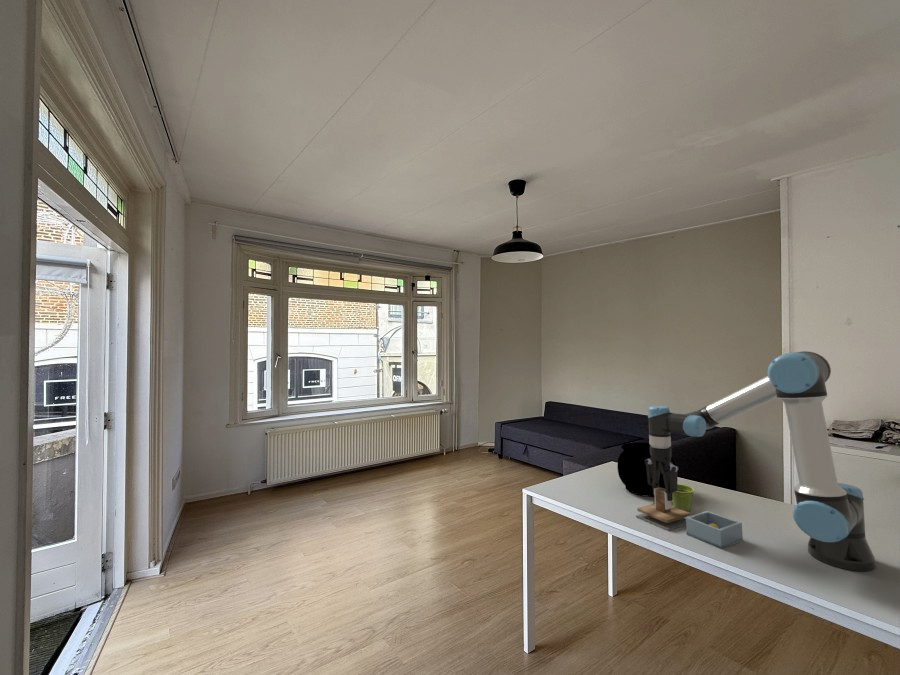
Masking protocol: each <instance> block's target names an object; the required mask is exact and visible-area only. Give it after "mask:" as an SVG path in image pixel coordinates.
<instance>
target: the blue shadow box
mask: <svg viewBox="0 0 900 675" xmlns="http://www.w3.org/2000/svg"><path fill="white" fill-rule="evenodd" d="M685 518H686V525H685V526H686V535H687V536H690V537H691V538H694V539H697V540H698V541H701V542H704V543H706V544H708V545H710V546H713V547H715V548H718V549H721V550H722V549H725V548H727V547H730V546H733V545H734V544H737V543H739V542H740V543H741V542H742V541H743V539H744V537H743V523H742V522H741V521H738V520H734V519H732V518H729V517H726V516H723V515H721V514H718V513H715V512H711V511H709V510H705V511H702V512H700V513H695V514H692V515H690V516H688V517H685ZM711 523H713V524H716V525H717V526H718V527H719V529H718V528H715V527H713V526H710V525H709V524H711Z"/></svg>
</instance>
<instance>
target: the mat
mask: <svg viewBox="0 0 900 675" xmlns="http://www.w3.org/2000/svg"><path fill="white" fill-rule="evenodd" d="M635 518H636V519H639V520H642V521H644V522H646V523H649V524H651V525H653V526H656V527H659V528H660V529H663V530H664V531H667V532H669V531H673V530H675V529H679V528H681V527H684V526H686V517H685V518H682V519H679V520H676V521H673V522H670V523H666V522H663V521H661V520H658V519H656V518H653V517H651V516H649V515H646V514H644V513H640V514H637V515H635Z"/></svg>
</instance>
